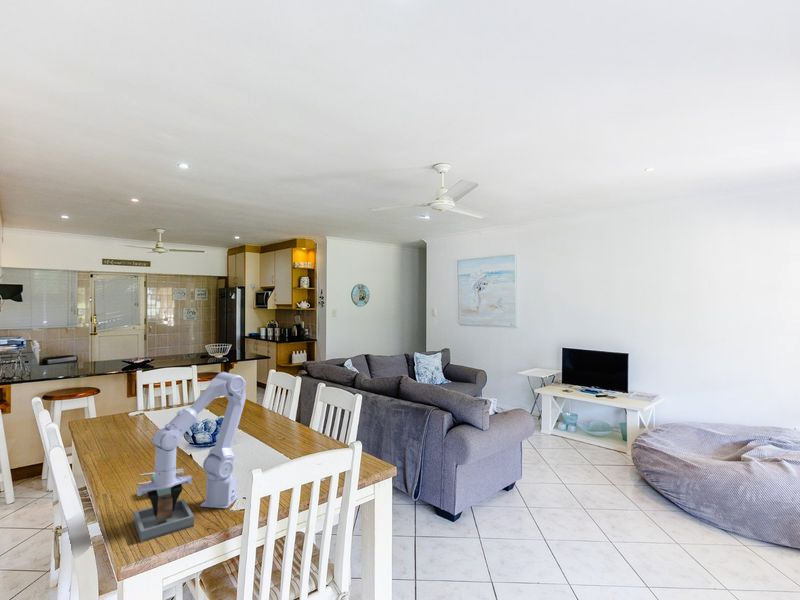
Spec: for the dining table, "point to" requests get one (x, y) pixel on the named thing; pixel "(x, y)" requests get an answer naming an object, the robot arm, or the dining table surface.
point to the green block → (163, 491)
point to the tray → (153, 529)
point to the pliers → (178, 472)
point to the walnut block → (164, 507)
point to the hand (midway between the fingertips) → (164, 512)
